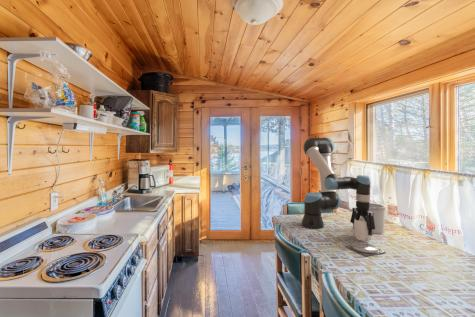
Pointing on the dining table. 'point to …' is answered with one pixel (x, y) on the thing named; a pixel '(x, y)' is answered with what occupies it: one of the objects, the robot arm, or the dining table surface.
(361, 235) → the cup
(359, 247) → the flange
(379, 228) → the utensil holder
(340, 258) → the dining table surface
